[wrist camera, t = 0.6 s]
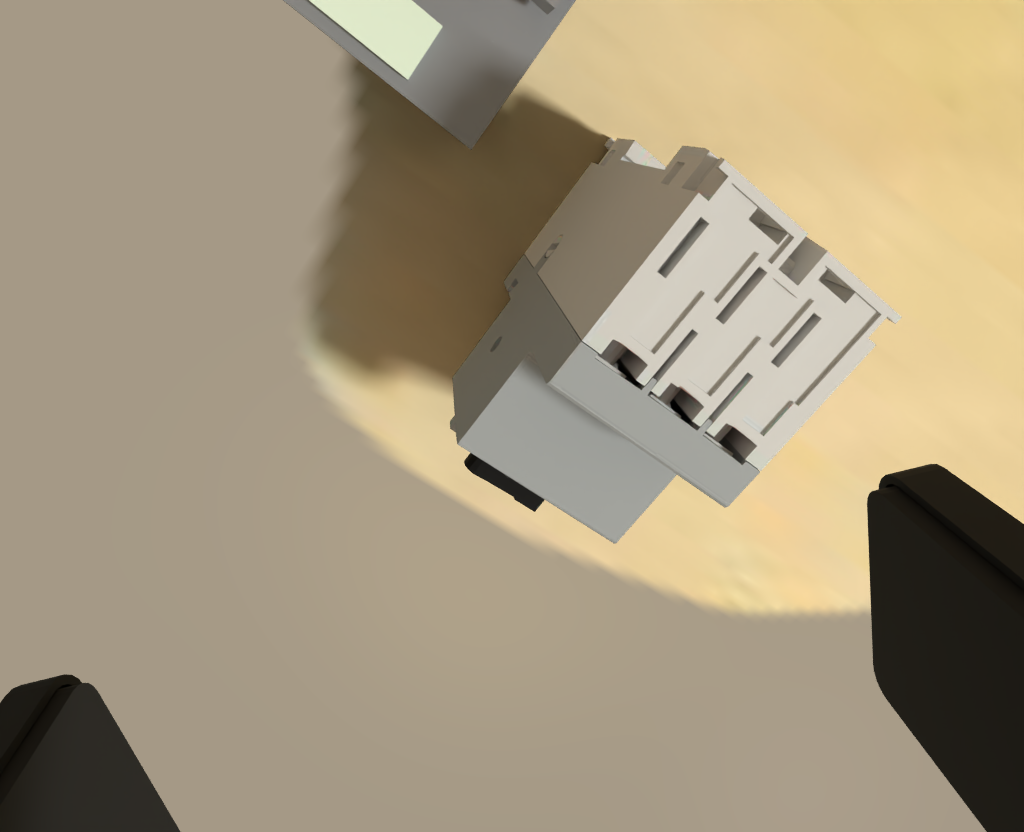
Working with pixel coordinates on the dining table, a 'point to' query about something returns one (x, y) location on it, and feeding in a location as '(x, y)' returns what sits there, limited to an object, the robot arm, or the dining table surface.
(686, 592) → the dining table surface
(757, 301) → the circuit breaker
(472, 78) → the panel
